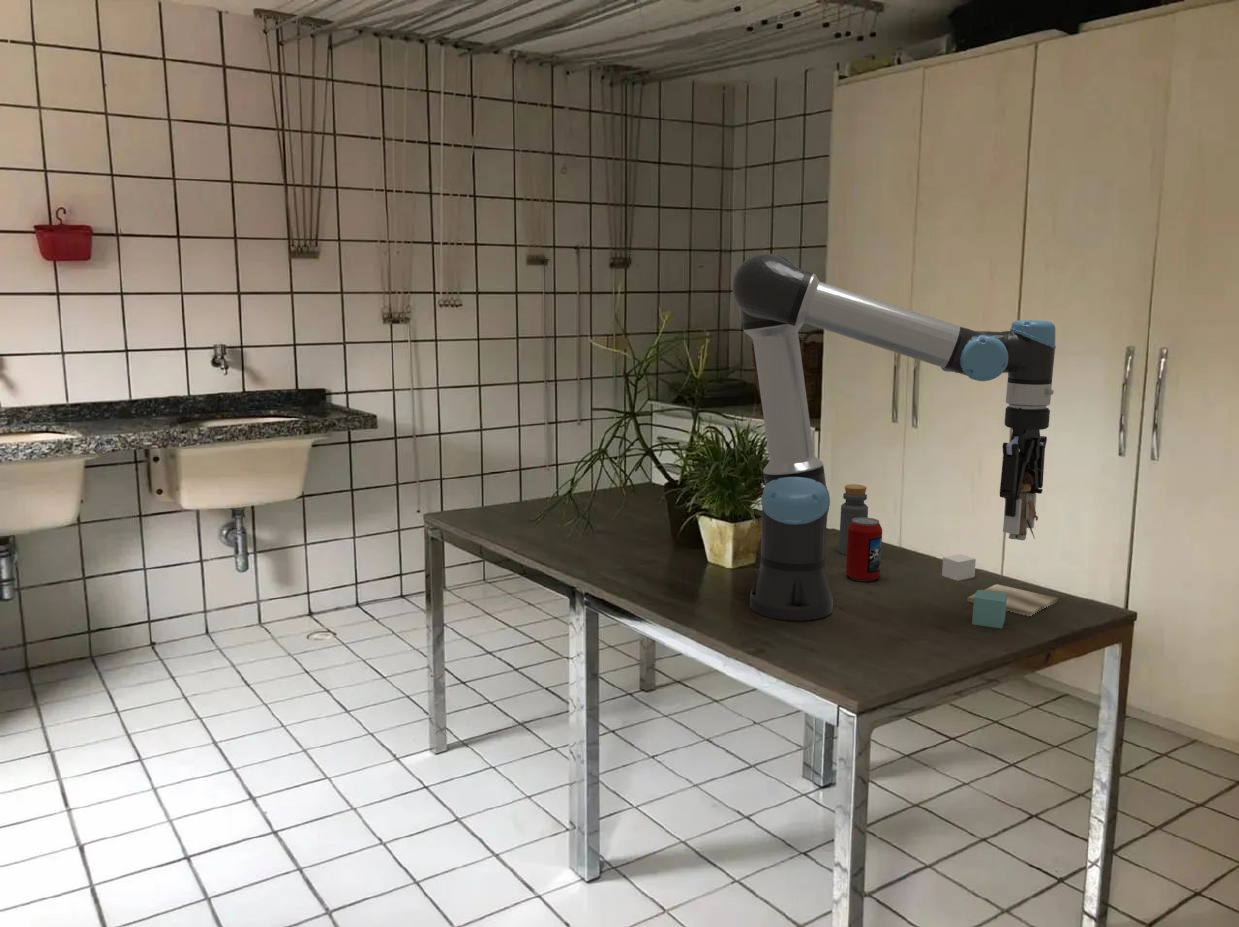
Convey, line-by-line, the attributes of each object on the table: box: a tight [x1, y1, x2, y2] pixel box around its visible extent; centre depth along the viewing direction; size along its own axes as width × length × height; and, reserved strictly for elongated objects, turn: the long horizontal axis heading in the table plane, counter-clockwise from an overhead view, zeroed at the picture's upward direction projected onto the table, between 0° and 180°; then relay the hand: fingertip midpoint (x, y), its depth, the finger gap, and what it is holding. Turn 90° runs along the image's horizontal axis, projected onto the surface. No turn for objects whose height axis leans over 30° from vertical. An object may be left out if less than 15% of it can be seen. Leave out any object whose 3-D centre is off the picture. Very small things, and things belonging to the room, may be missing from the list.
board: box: [966, 583, 1059, 617], centre depth 188 cm, size 12×12×1 cm
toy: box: [1008, 464, 1041, 541], centre depth 185 cm, size 6×6×15 cm
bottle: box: [838, 483, 869, 556], centre depth 221 cm, size 6×6×15 cm
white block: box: [941, 553, 977, 582], centre depth 204 cm, size 5×4×4 cm
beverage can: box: [845, 517, 883, 582], centre depth 202 cm, size 7×7×12 cm
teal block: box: [971, 589, 1007, 630], centre depth 177 cm, size 5×5×5 cm
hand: (1018, 529), depth 186 cm, fingers closed on toy, 6 cm apart
